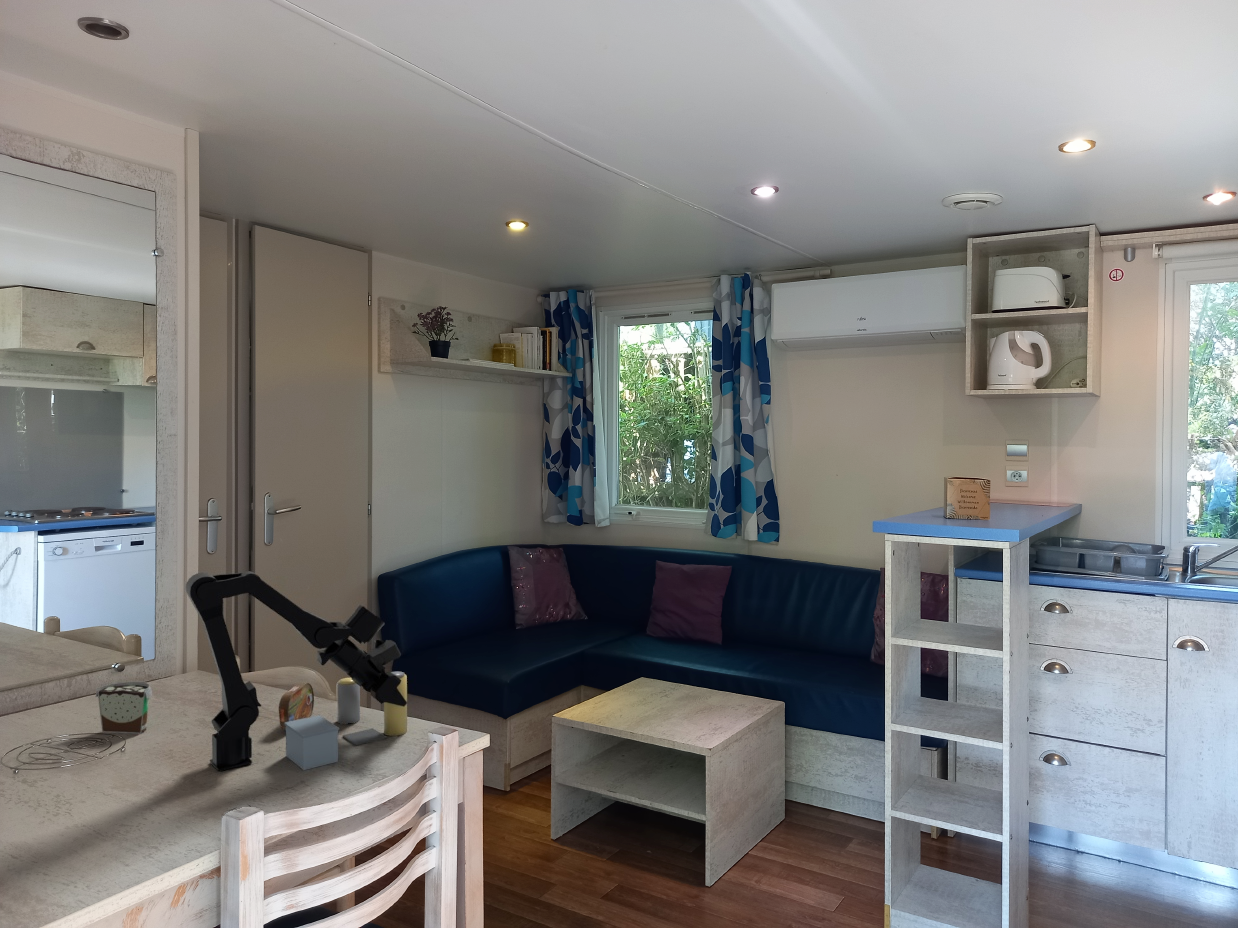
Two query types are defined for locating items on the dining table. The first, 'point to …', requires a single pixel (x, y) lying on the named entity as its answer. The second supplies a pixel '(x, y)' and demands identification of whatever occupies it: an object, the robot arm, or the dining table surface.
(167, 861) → the dining table surface
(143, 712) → the food container
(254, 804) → the dining table surface
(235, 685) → the robot arm
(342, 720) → the cylinder
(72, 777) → the dining table surface
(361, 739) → the pad
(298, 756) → the block
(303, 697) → the tin
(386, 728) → the cylinder
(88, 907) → the dining table surface
